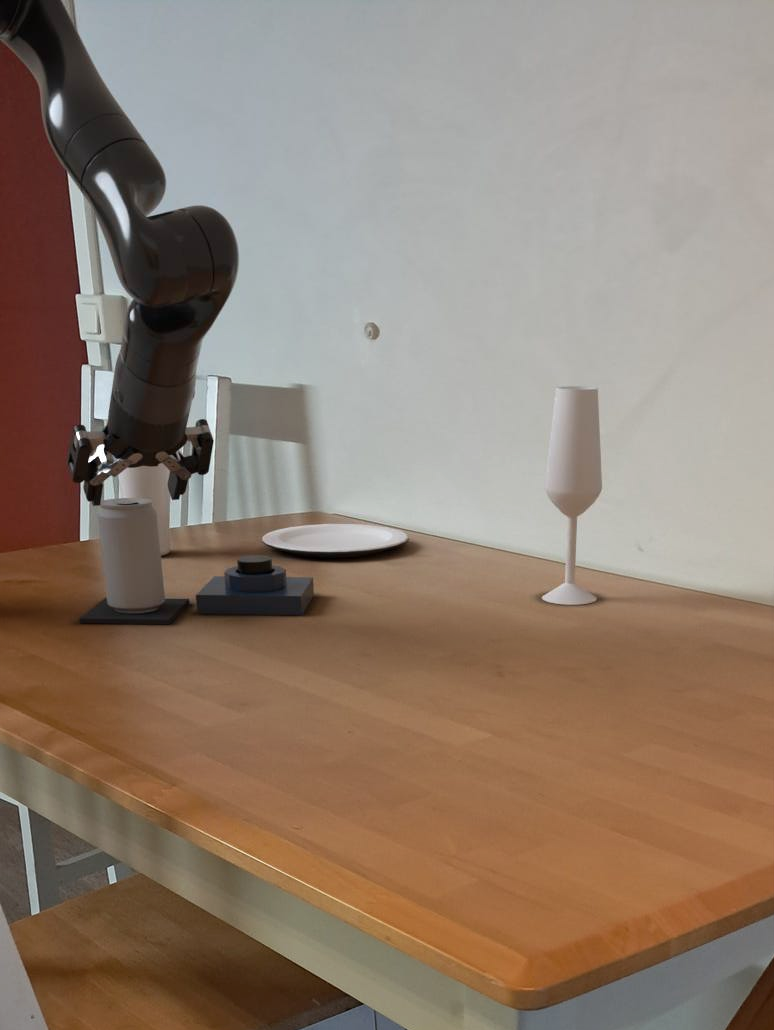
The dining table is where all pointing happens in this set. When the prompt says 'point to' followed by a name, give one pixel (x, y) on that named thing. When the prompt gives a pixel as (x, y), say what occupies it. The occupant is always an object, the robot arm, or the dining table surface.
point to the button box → (255, 594)
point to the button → (254, 565)
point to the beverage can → (131, 555)
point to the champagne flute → (573, 474)
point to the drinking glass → (150, 495)
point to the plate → (335, 540)
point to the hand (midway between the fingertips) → (133, 496)
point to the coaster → (135, 614)
